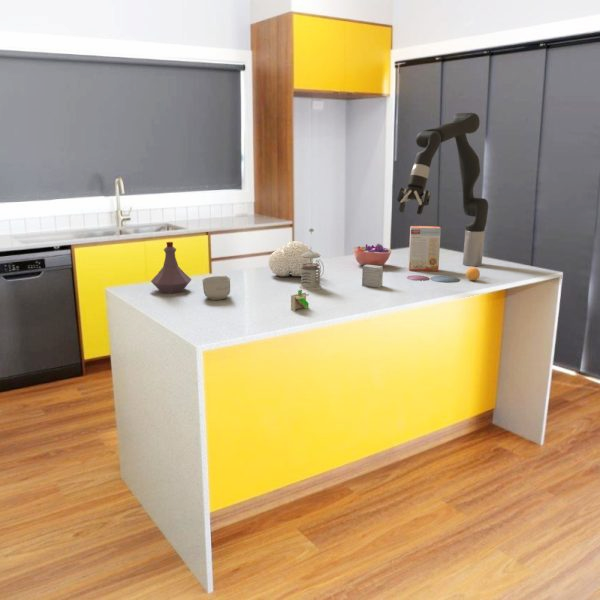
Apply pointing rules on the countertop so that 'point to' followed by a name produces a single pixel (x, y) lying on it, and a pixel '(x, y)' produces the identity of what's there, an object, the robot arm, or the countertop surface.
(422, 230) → the cracker box
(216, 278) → the teacup
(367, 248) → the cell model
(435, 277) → the blue-gray disc
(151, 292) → the countertop surface
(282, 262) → the cauliflower
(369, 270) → the medicine box
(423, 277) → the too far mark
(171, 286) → the flask
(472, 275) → the ball
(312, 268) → the french press
